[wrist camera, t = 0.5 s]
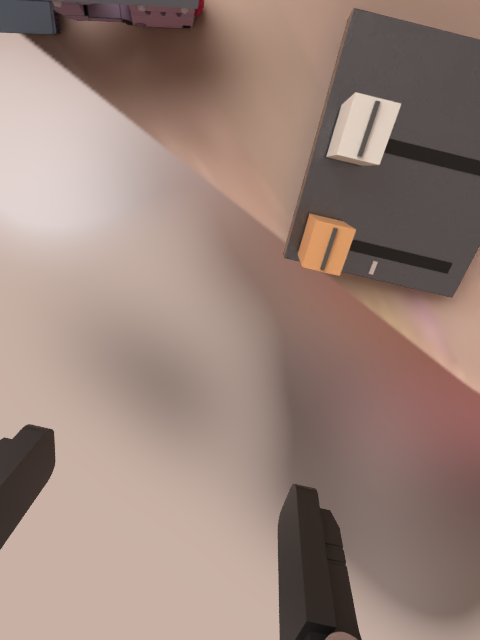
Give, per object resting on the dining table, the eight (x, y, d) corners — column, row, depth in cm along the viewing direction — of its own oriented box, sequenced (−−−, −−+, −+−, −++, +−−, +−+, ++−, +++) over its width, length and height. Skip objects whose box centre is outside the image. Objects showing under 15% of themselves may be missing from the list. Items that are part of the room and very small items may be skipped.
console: (347, 19, 25) (354, 7, 23) (552, 71, 25) (575, 63, 23) (283, 253, 32) (284, 258, 30) (442, 290, 33) (452, 298, 31)
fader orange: (309, 213, 28) (316, 220, 24) (343, 221, 28) (356, 230, 24) (297, 254, 30) (302, 267, 26) (329, 262, 30) (340, 276, 26)
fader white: (341, 104, 25) (356, 91, 21) (380, 114, 25) (402, 103, 21) (326, 157, 27) (337, 154, 22) (362, 165, 27) (380, 164, 22)
